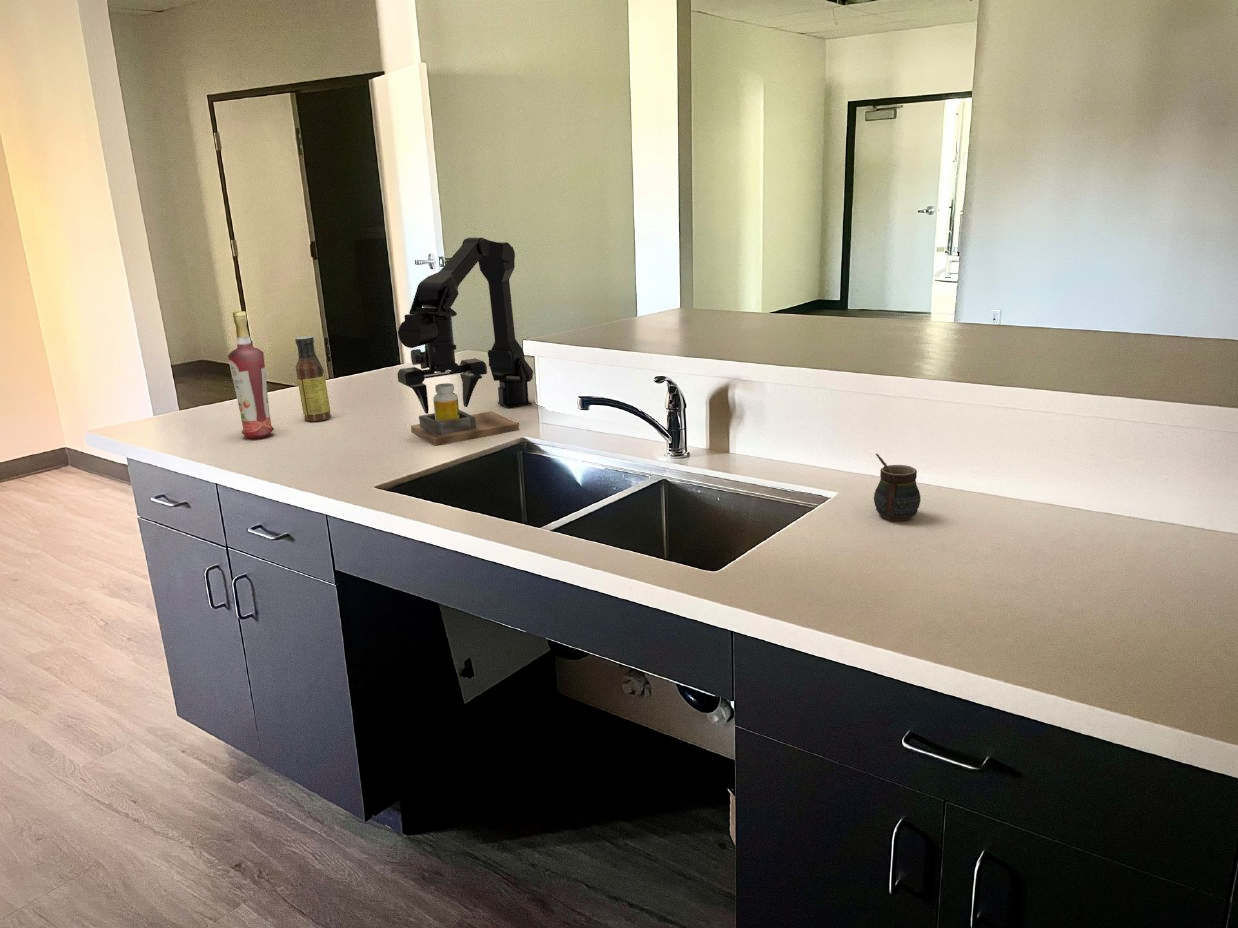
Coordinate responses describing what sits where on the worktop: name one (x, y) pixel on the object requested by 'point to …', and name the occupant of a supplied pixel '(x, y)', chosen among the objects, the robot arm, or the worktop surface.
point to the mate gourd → (897, 492)
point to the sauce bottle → (311, 382)
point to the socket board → (462, 427)
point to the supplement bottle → (445, 403)
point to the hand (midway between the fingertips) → (446, 410)
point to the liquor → (250, 382)
